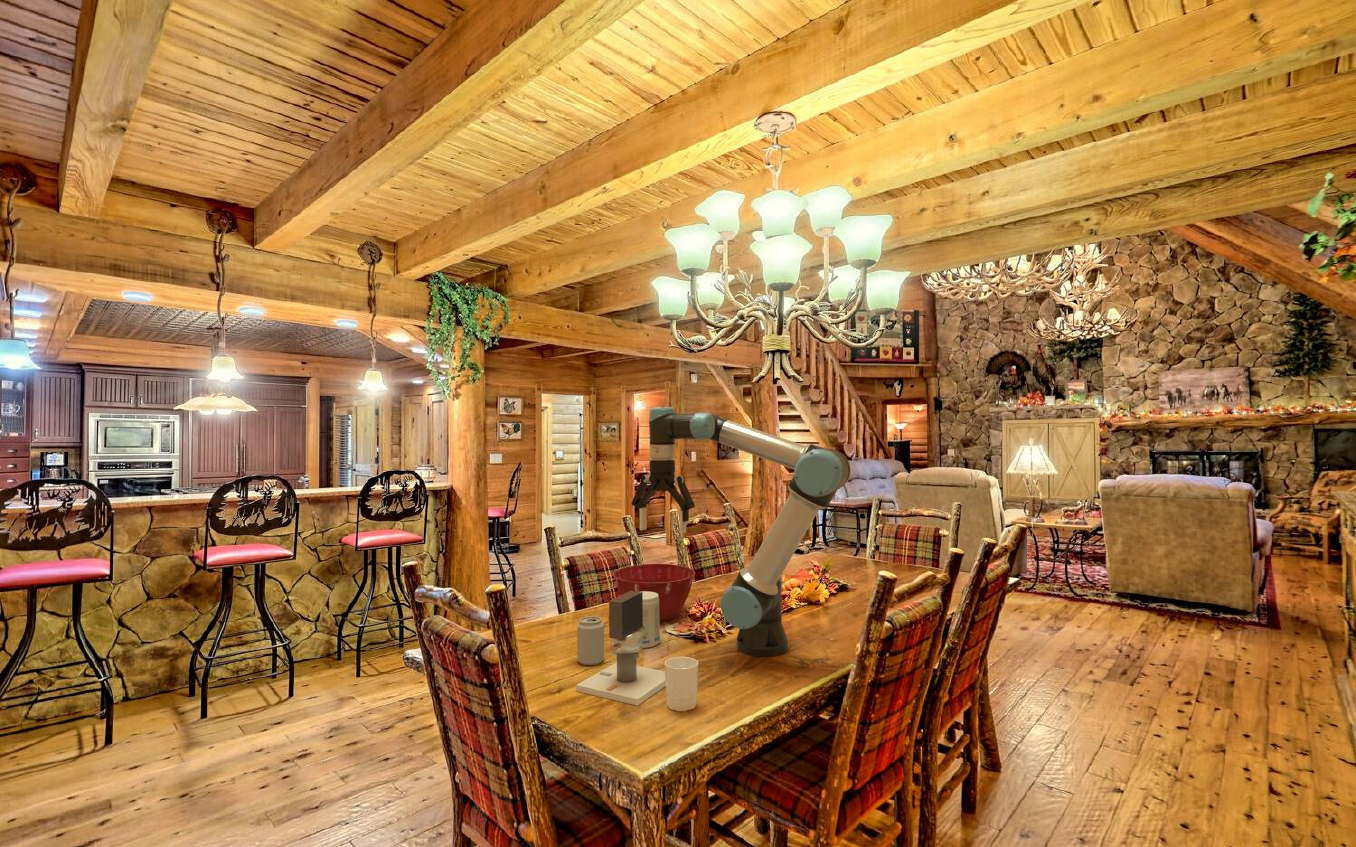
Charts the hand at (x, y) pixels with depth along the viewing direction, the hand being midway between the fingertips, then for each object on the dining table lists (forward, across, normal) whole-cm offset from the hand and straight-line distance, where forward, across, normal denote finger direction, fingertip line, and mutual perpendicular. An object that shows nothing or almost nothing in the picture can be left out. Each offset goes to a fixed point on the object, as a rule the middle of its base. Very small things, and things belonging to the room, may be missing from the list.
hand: (662, 531), depth 186 cm
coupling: (+25, +5, -28) cm, 38 cm away
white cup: (+35, +23, -31) cm, 52 cm away
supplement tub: (+35, -8, +2) cm, 36 cm away
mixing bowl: (+35, -20, +28) cm, 49 cm away
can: (+35, -13, -18) cm, 41 cm away
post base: (+35, +5, -27) cm, 44 cm away
